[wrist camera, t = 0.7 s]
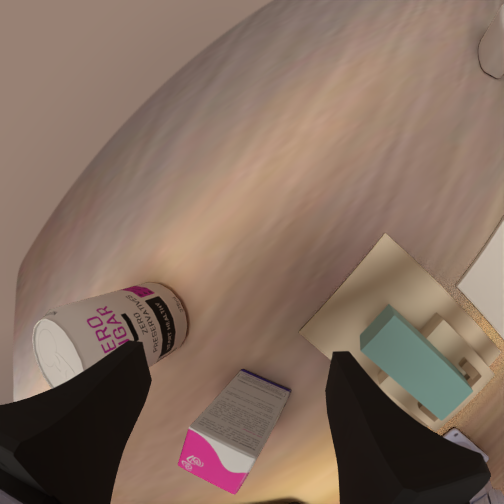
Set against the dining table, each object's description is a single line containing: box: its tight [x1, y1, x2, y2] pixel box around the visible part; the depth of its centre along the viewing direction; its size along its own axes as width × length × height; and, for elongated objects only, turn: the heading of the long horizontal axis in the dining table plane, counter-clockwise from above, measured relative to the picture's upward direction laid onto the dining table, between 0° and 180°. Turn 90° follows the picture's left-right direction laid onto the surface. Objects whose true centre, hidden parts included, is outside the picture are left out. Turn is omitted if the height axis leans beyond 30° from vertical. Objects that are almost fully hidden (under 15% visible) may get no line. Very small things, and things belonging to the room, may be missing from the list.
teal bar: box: [360, 304, 473, 421], centre depth 21 cm, size 10×4×4 cm, turn 51°
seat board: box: [299, 233, 501, 432], centre depth 24 cm, size 18×12×4 cm, turn 51°
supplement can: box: [32, 282, 187, 388], centre depth 26 cm, size 8×8×15 cm
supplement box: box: [178, 369, 291, 494], centre depth 25 cm, size 6×6×12 cm
